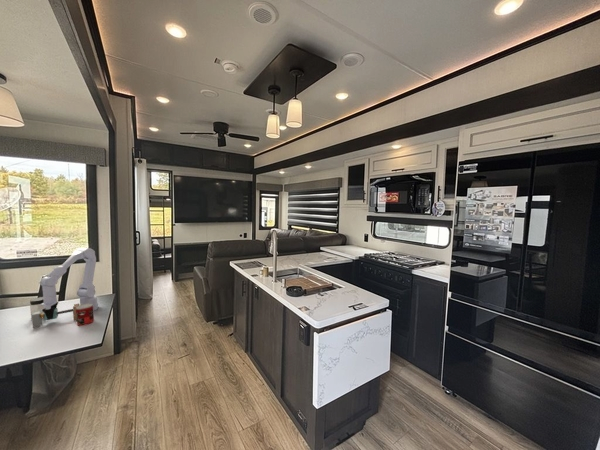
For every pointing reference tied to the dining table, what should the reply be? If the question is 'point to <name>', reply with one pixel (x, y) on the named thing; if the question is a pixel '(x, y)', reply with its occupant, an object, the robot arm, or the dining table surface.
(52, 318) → the sleeve
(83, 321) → the canned food
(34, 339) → the dining table surface
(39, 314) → the rod peg assembly
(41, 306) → the jar
